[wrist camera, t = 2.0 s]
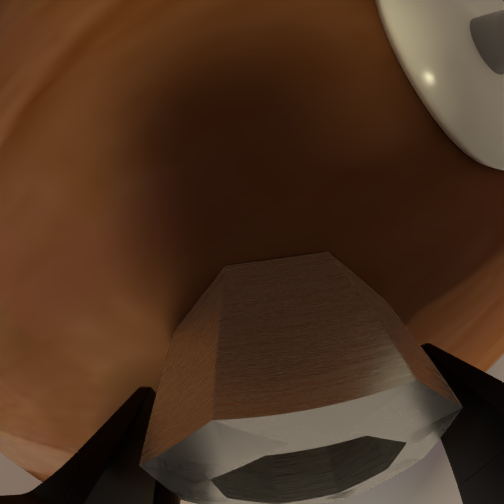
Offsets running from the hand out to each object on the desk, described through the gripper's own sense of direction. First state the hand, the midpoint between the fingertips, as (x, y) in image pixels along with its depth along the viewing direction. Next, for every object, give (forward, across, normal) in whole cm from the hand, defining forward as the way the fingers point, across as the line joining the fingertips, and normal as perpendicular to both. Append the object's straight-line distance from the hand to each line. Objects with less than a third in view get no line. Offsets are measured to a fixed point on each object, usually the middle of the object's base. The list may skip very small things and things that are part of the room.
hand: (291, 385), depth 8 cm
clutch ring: (+2, 0, 0) cm, 2 cm away
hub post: (+2, -9, -11) cm, 14 cm away
